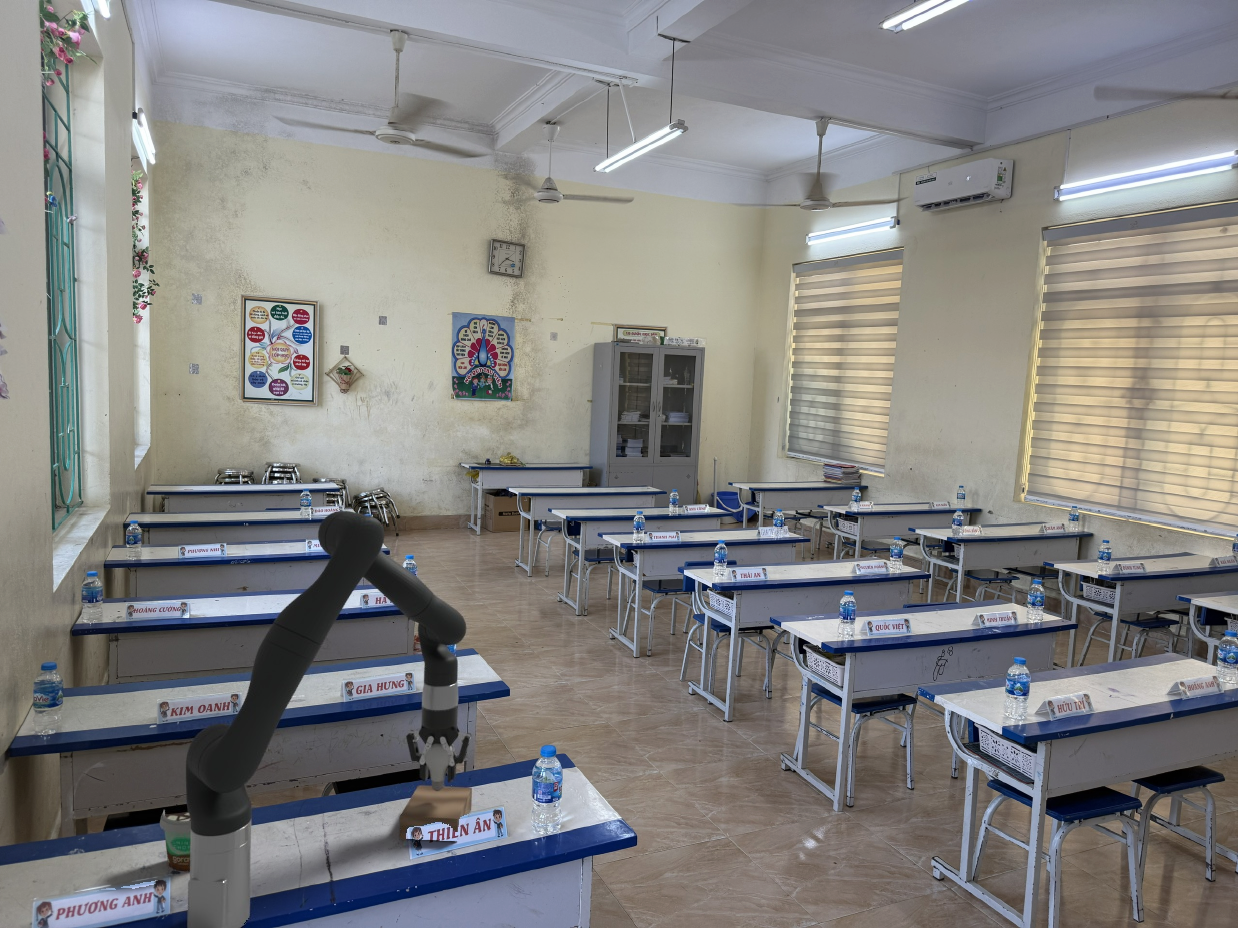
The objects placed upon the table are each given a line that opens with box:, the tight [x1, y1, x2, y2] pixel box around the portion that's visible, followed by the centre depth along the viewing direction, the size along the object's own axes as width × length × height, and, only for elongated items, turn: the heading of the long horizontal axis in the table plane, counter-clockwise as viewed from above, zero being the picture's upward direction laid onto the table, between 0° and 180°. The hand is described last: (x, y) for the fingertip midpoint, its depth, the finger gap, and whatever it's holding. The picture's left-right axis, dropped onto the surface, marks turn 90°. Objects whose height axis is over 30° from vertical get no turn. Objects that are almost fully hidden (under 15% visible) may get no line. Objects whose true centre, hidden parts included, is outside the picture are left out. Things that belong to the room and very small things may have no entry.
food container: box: [159, 809, 191, 873], centre depth 150 cm, size 12×6×10 cm, turn 105°
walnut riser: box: [398, 784, 473, 841], centre depth 169 cm, size 14×12×5 cm
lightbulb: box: [424, 744, 452, 791], centre depth 169 cm, size 6×6×11 cm
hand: (437, 779), depth 169 cm, fingers closed on lightbulb, 5 cm apart
